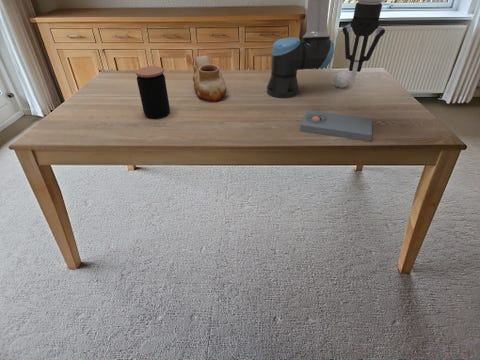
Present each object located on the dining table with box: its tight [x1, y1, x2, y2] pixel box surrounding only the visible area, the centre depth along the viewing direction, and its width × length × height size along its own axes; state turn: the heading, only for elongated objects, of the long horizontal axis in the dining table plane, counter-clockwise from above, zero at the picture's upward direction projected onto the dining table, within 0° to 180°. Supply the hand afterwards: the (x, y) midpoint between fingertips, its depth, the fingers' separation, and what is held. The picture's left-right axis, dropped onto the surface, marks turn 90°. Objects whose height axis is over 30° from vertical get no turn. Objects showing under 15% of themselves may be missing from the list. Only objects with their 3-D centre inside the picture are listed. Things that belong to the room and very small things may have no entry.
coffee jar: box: [134, 65, 171, 120], centre depth 123 cm, size 11×11×18 cm
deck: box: [299, 109, 373, 142], centre depth 116 cm, size 25×14×2 cm, turn 71°
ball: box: [312, 116, 320, 121], centre depth 118 cm, size 3×3×3 cm
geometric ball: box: [333, 70, 351, 89], centre depth 149 cm, size 8×8×8 cm
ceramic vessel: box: [192, 55, 228, 103], centre depth 143 cm, size 14×26×15 cm, turn 19°
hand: (352, 80), depth 106 cm, fingers closed
